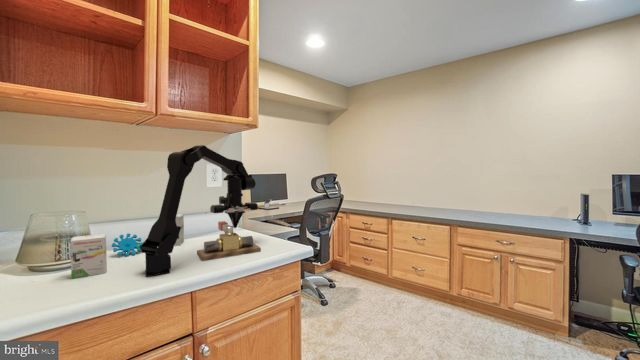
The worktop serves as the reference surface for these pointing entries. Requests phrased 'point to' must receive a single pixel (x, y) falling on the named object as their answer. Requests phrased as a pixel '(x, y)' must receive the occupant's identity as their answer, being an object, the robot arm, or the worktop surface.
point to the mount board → (227, 252)
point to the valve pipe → (228, 243)
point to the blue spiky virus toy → (127, 244)
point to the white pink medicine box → (88, 255)
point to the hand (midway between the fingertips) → (235, 227)
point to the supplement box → (181, 234)
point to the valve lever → (225, 227)
